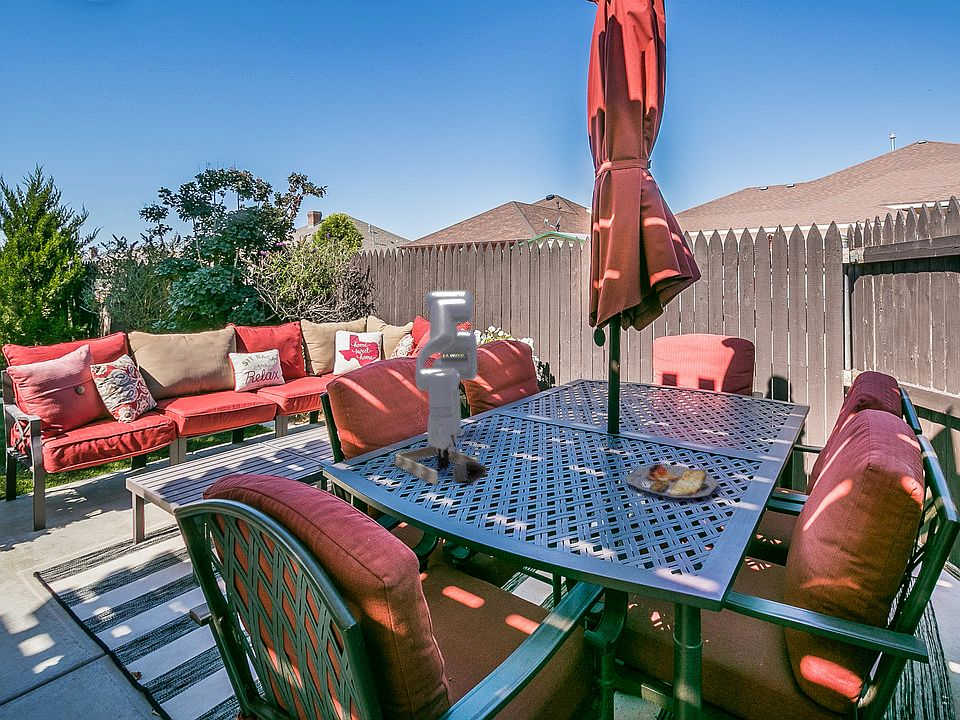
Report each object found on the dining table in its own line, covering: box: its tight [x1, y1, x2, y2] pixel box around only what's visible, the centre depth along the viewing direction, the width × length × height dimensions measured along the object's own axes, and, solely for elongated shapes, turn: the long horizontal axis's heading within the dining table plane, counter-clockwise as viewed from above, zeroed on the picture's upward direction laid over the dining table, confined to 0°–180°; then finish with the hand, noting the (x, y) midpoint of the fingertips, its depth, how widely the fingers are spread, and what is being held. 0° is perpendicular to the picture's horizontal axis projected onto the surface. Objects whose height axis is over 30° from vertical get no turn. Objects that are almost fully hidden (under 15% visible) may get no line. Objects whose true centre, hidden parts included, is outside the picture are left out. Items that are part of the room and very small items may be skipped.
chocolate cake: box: [452, 460, 488, 486], centre depth 155 cm, size 10×7×12 cm
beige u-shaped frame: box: [393, 445, 480, 486], centre depth 164 cm, size 23×17×4 cm
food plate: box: [625, 462, 720, 500], centre depth 145 cm, size 25×23×4 cm
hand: (443, 467), depth 161 cm, fingers closed
